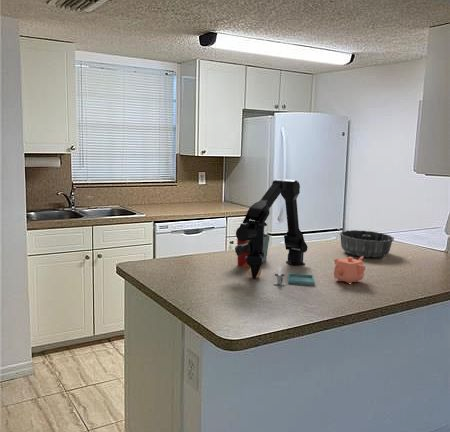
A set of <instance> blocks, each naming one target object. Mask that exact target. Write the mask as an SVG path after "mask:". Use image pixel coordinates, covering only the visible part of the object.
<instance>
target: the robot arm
mask: <svg viewBox="0 0 450 432" xmlns="http://www.w3.org/2000/svg"><path fill="white" fill-rule="evenodd" d="M300 189H301V185H300V182H299V181H298V180H293V179H286V178H285V179H274V180H273V181H272V184H271V185H270V187H269V188H268V190H267V191H266V192H265V193H264V195H263V196H262V197H261V199H260V200H259V201H256V202H254V203H253V204H251V206H250V207H249V208H248V209H247V212H246V215H245V216H244V219H243V221H242V223H240V226H239V227H238V228H237V229H236V231H235V237H236V240H237V239H238V240H239V241H247V240H249V241H248V243H244V244H241V245H238V246H237V245H236V246H235V247H234V250H235V253H236V254H235V255H236V256H238V255H240V254H243V253H246V252H248V254H249V255H248V256H247V258H246V263H247V264H248V265H249V266H250V268H251V272H252V277H251V278H252V280H255V279H257V278H256V276H257V274H258V272H259V270H260V269H261V267H262V265H263V262H262V261H263V257H264V252H265V249H264V248H263V243H264V234H265V227H267V226H268V224H267V222H266V221H267V219H268V217H269V216H270V209H271V207H272V206H273V205H274V203H275V202H276V200H277V199H278V197H279V196H281V197H282V198H283V200H284V201H285V212H286V223H287V231H286V233H285V234H284V235H283V239H284V246H285V250H286V251H288V254H287V260H286V261H285V262H286V263H287V264H289V265H292V266H294V267H295V266H302V265H303V266H304V265H306V262H304V255H305V253H307V251H308V248H309V247H308V245H307V243H306V241H305V238H304V234H303V233H302V231H301V230H300V227H299V226H300V224H299V215H298V212H299V211H298V202H297V201H298V200H297V199H298V197H299V195H300V191H301V190H300ZM261 254H262V255H261Z"/></svg>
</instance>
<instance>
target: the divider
mask: <svg viewBox="0 0 450 432" xmlns="http://www.w3.org/2000/svg"><path fill="white" fill-rule="evenodd" d="M282 269H283V265H282V264H279V265H278V272H274V275H275V276H277V282H273V286H281V287H284V286H285V283H284V282H282V276H283V277H285V275H286V273H285V272H282Z"/></svg>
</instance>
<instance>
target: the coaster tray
mask: <svg viewBox="0 0 450 432" xmlns="http://www.w3.org/2000/svg"><path fill="white" fill-rule="evenodd" d="M287 281H288V282H287V284H288V285H296V286H297V285H298V286H299V285H301V286H311V285H314V286H315V285H316V284H315V277H314V274H309V273H308V274H305V273H295V272H294V273H293V272H292V273H290V272H289V273H288V275H287Z"/></svg>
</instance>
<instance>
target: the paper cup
mask: <svg viewBox="0 0 450 432" xmlns="http://www.w3.org/2000/svg"><path fill="white" fill-rule="evenodd" d="M236 240H237V241H236V243H237V245H236V246H238V245H241V244H244V243H248V241H249V240H247V241H239V240H238V239H237V238H236ZM248 255H249V254H248V252H246V253H243V254H240V255H237V266H238V267H240V268H249V267H250V266H249V265H248V264H247V263H246V258H247V256H248ZM250 268H251V267H250Z"/></svg>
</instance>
